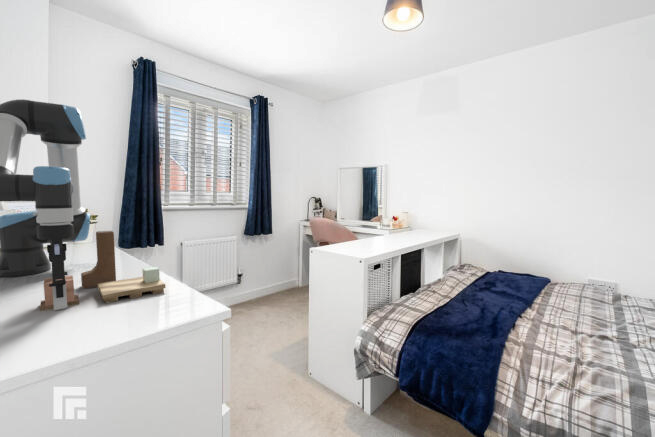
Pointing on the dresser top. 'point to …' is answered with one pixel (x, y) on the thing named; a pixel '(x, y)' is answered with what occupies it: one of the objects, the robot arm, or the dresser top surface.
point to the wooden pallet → (128, 288)
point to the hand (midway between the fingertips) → (60, 303)
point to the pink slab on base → (48, 294)
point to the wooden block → (102, 261)
